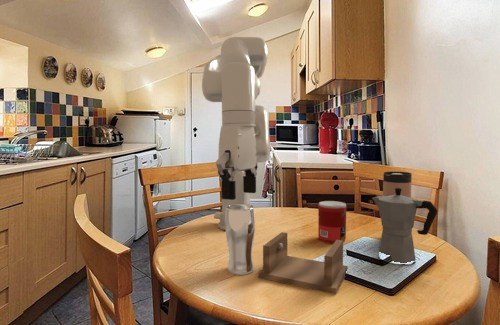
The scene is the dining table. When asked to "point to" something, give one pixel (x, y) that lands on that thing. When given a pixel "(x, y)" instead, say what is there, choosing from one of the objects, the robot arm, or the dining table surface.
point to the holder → (303, 266)
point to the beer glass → (240, 237)
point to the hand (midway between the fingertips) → (239, 195)
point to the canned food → (331, 221)
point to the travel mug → (397, 183)
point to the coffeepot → (401, 224)
